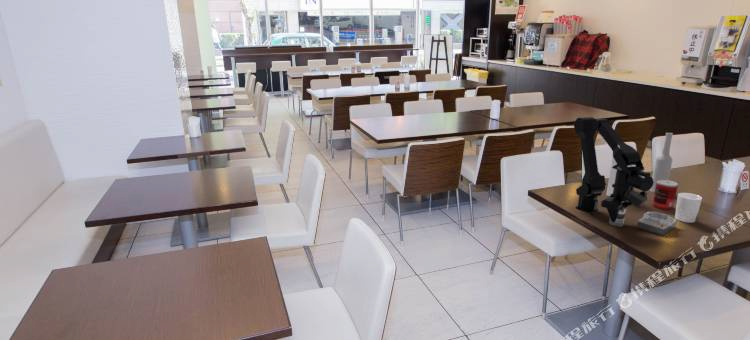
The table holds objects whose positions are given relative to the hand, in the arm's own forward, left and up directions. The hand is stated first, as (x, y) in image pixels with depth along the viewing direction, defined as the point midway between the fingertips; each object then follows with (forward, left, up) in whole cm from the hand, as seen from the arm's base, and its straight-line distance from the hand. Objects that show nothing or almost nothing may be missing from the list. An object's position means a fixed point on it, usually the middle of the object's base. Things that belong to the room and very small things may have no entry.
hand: (616, 220), depth 172 cm
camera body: (+11, +9, -2) cm, 14 cm away
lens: (0, 0, -2) cm, 2 cm away
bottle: (-5, +53, -2) cm, 53 cm away
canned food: (+4, +34, -2) cm, 34 cm away
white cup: (+15, +26, -2) cm, 30 cm away
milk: (-14, +31, -2) cm, 34 cm away
